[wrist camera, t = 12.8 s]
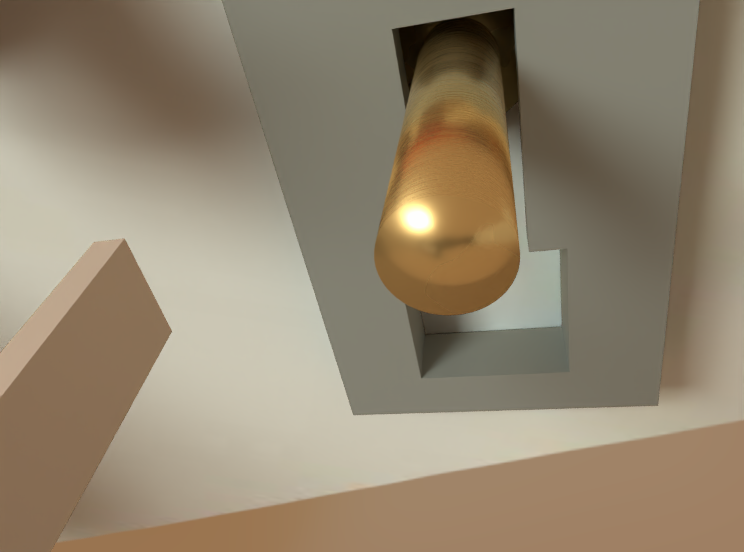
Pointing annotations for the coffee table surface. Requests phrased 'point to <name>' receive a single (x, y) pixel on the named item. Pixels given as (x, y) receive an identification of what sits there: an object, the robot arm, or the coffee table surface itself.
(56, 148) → the coffee table surface
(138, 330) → the robot arm
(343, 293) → the keyhole board
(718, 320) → the coffee table surface
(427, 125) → the brass peg
